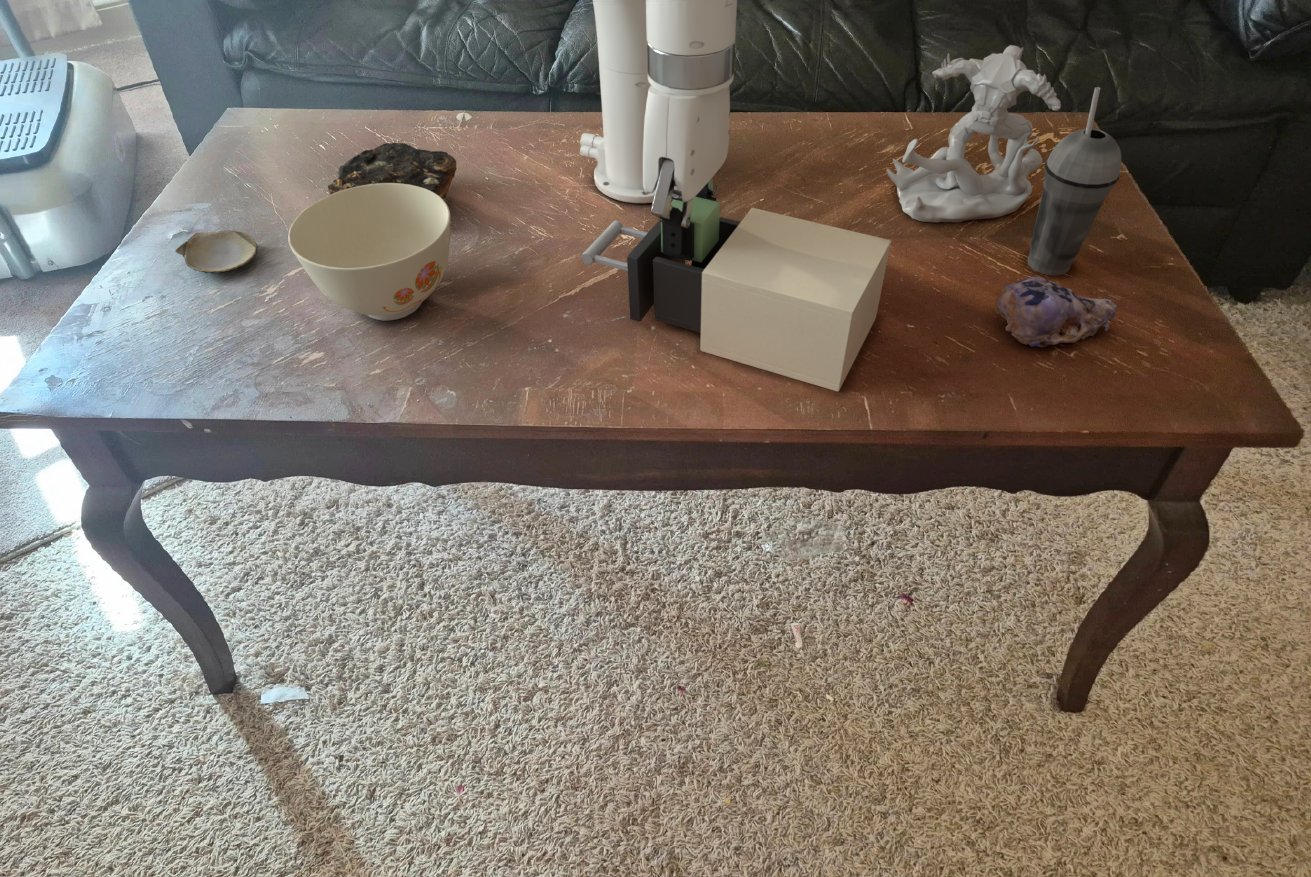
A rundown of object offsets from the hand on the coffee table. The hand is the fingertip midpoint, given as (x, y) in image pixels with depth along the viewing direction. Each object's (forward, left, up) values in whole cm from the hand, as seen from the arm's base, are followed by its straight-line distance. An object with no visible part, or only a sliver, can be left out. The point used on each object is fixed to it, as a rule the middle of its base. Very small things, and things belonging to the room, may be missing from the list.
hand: (689, 241), depth 88 cm
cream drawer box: (+11, 0, -8) cm, 14 cm away
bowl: (-30, -13, -8) cm, 33 cm away
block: (0, 0, -1) cm, 1 cm away
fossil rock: (-41, +3, -8) cm, 42 cm away
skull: (+35, +12, -8) cm, 38 cm away
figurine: (+21, +34, -8) cm, 41 cm away
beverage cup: (+33, +24, -8) cm, 42 cm away
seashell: (-53, -15, -8) cm, 55 cm away
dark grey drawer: (-1, 0, -7) cm, 7 cm away
